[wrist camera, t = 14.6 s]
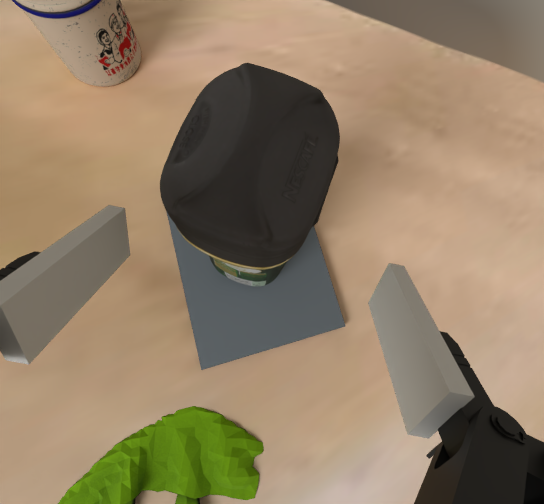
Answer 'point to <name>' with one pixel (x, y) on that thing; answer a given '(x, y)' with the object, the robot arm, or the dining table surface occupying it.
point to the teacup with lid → (88, 37)
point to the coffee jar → (251, 171)
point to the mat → (255, 303)
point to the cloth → (175, 462)
